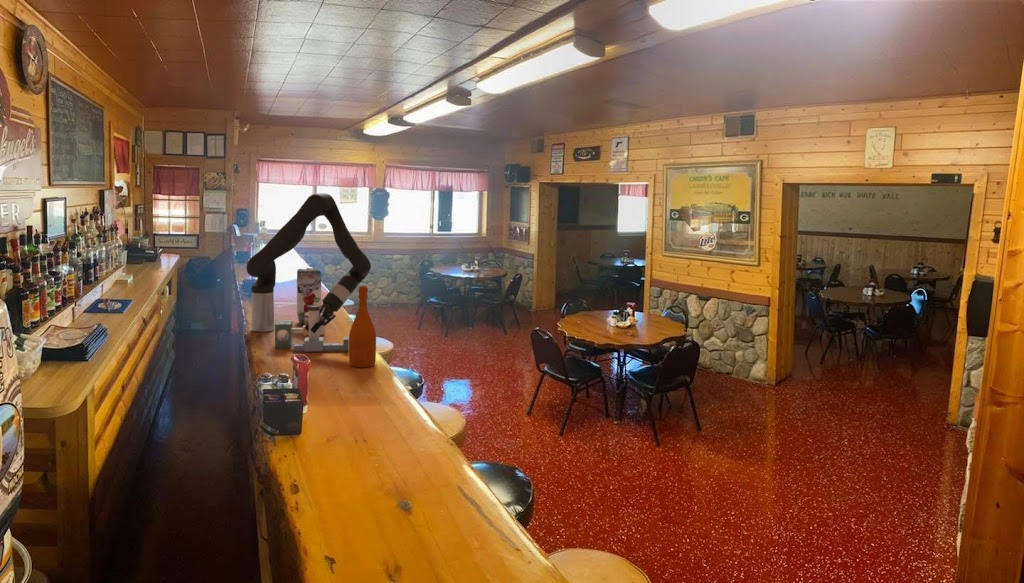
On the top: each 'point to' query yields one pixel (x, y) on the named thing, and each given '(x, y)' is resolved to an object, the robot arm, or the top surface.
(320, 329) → the teacup with lid
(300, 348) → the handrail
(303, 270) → the juice carton
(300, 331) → the plunger
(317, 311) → the post
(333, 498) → the top surface
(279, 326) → the gauge cabinet
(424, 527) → the top surface
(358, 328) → the wine bottle
